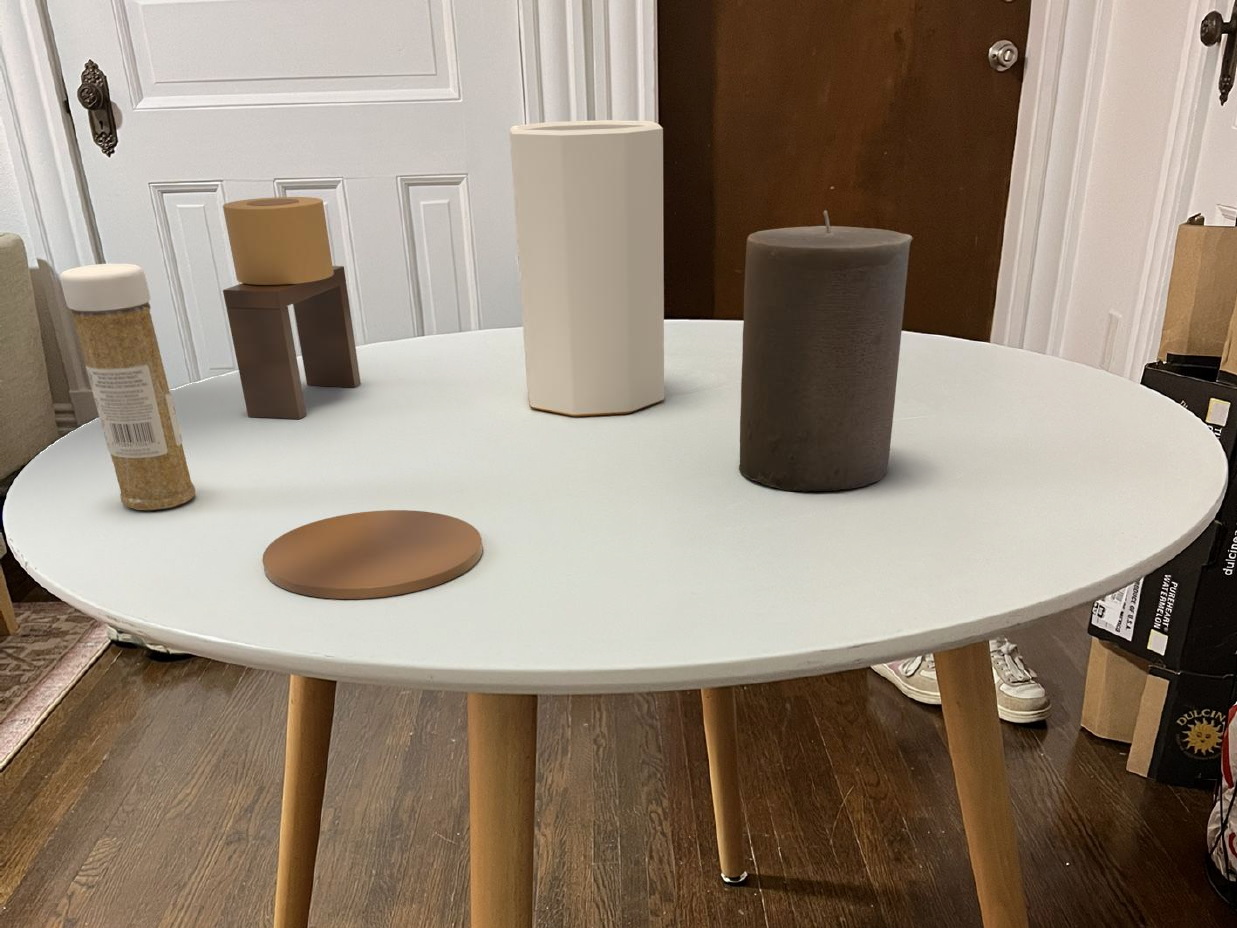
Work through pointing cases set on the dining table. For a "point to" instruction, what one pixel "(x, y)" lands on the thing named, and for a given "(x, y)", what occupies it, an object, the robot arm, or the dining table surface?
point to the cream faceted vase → (591, 263)
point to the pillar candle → (820, 355)
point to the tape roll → (279, 240)
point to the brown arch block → (291, 342)
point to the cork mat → (372, 554)
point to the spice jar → (129, 383)
